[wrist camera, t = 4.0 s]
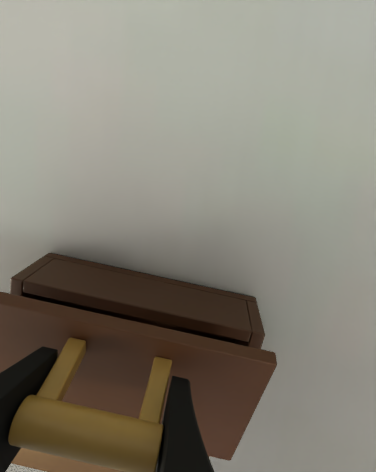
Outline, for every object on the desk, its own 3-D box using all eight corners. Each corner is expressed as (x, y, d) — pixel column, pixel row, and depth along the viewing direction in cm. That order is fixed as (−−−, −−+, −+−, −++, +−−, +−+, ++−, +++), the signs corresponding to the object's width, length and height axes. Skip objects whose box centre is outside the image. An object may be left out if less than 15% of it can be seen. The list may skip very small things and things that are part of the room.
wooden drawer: (49, 252, 18) (9, 278, 15) (255, 297, 18) (265, 334, 14) (41, 353, 20) (4, 396, 17) (227, 395, 20) (230, 448, 16)
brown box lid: (-19, 286, 13) (-127, 387, 9) (276, 351, 12) (293, 484, 9) (3, 396, 16) (-65, 500, 13) (230, 448, 16) (229, 570, 12)
